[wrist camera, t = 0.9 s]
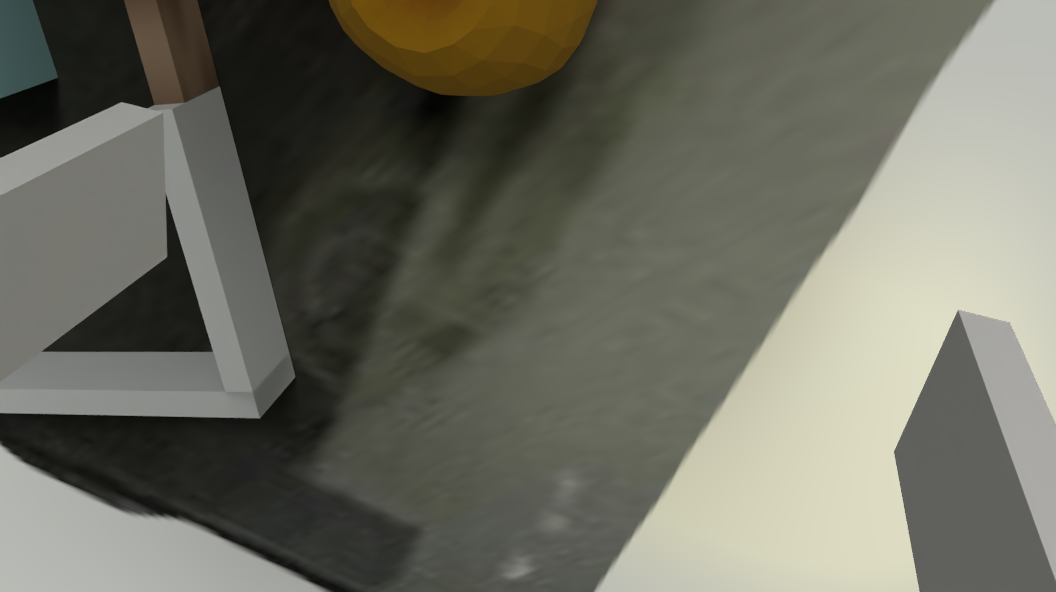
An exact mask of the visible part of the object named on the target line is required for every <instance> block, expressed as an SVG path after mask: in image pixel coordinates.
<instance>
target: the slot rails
mask: <svg viewBox="0 0 1056 592" xmlns="http://www.w3.org/2000/svg"><path fill="white" fill-rule="evenodd" d="M124 2H125V5H126V9H127V12H128V15H129V19H130V22H131V26H132V29H133V33H134V36H135V39H136V43H137V46H138V50H139V53H140V57H141V60H142V63H143V67H144V70H145V74H146V77H147V81H148V84H149V87H150V91H151V94H152V98H153V101H154V105H163V104H177V103H186V102H188V101H190V100H192V99H194V98H196V97H198V96H200V95H202V94H204V93H206V92H208V91H211V90H213V89H215V88H217V87H219V86H220V85H219V81H218V78H217V74H216V70H215V66H214V62H213V58H212V55H211V51H210V47H209V43H208V39H207V35H206V32H205V28H204V24H203V20H202V16H201V12H200V8H199V5H198V1H197V0H124Z"/></svg>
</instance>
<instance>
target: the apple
mask: <svg viewBox="0 0 1056 592" xmlns="http://www.w3.org/2000/svg"><path fill="white" fill-rule="evenodd" d="M329 3H330V6H331V8H332V10H333V12H334V14H335V16H336V17H337V19H338V21H339V23H340V25H341V27H342V28H343V30H344V31H345V33H346V34H347V35H348V36H349V37H350V38H351V39H352V40H353V41H354V43H355V44H356V45H357V46H358V47H359V48H360V49H361V50H363V51H364V52H365V53H366V54H367V55H368V56H370V57H371V58H372V59H373V60H374V61H376V62H377V63H378V64H379V65H380V66H381V67H383V68H385V69H386V70H388V71H390V72H392V73H394V74H395V75H397V76H399V77H401V78H403V79H404V80H406V81H408V82H410V83H412V84H413V85H415V86H418V87H420V88H423V89H426V90H429V91H432V92H435V93H438V94H441V95H456V96H493V95H500V94H503V93H506V92H510V91H513V90H516V89H520V88H523V87H526V86H530V85H533V84H536V83H539V82H540V81H542V80H544V79H545V78H547V77H548V76H550V75H552V74H553V73H555V72H556V71H558V70H560V69H561V68H562V67H563V66H564V64H565V63H566V62H567V60H568V59H569V58H570V56H571V55H572V54H573V52H574V51H575V50H576V48H577V47H578V46H579V44H580V42H581V40H582V39H583V37H584V34H585V32H586V29H587V27H588V24H589V22H590V19H591V17H592V14H593V12H594V9H595V7H596V4H597V0H329Z"/></svg>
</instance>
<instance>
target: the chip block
mask: <svg viewBox="0 0 1056 592" xmlns="http://www.w3.org/2000/svg"><path fill="white" fill-rule="evenodd" d="M56 78H58V76H57V73H56V70H55V67H54V64H53V61H52V58H51V55H50V52H49V49H48V45H47V42H46V39H45V36H44V33H43V30H42V27H41V24H40V21H39V18H38V15H37V12H36V9H35V6H34V3H33V0H0V98H3V97H6V96H8V95H11V94H14V93H17V92H20V91H22V90H25V89H28V88H31V87H34V86H36V85H39V84H42V83H45V82H47V81H50V80H53V79H56Z"/></svg>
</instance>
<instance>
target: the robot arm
mask: <svg viewBox="0 0 1056 592" xmlns="http://www.w3.org/2000/svg"><path fill="white" fill-rule="evenodd" d="M166 257H167V233H166V195H165V157H164V119H163V112H159V111H155V110H151V109H147V108H143V107H139V106H135V105H131V104H127V103H123V102H121V103H119V104H117V105H115V106H113V107H110V108H108V109H106V110H104V111H102V112H100V113H97V114H95V115H93V116H91V117H89V118H87V119H84V120H82V121H80V122H78V123H76V124H74V125H71V126H69V127H67V128H65V129H63V130H61V131H58V132H56V133H54V134H52V135H50V136H48V137H45V138H43V139H41V140H39V141H37V142H35V143H32V144H30V145H28V146H26V147H24V148H21V149H19V150H17V151H15V152H13V153H11V154H8V155H6V156H4V157H2V158H0V382H1V381H2V380H4V379H5V378H6V377H8V376H9V375H10V374H12V373H13V372H14V371H16V370H17V369H18V368H20V367H21V366H22V365H24V364H25V363H26V362H28V361H29V360H30V359H32V358H33V357H34V356H36V355H37V354H38V353H40V352H41V351H42V350H44V349H45V348H46V347H48V346H49V345H50V344H52V343H53V342H54V341H56V340H57V339H58V338H60V337H61V336H62V335H64V334H65V333H66V332H68V331H69V330H70V329H72V328H73V327H74V326H76V325H77V324H78V323H80V322H81V321H82V320H84V319H85V318H86V317H88V316H89V315H90V314H92V313H93V312H94V311H96V310H97V309H98V308H100V307H101V306H102V305H104V304H105V303H106V302H108V301H109V300H110V299H112V298H113V297H114V296H116V295H117V294H118V293H120V292H121V291H122V290H124V289H125V288H126V287H128V286H129V285H130V284H132V283H133V282H134V281H136V280H137V279H138V278H140V277H141V276H142V275H144V274H145V273H146V272H148V271H149V270H150V269H152V268H153V267H154V266H156V265H157V264H158V263H160V262H161V261H162V260H164V259H165V258H166ZM894 454H895V459H896V465H897V470H898V475H899V481H900V486H901V492H902V497H903V502H904V508H905V513H906V519H907V524H908V530H909V535H910V541H911V547H912V552H913V557H914V563H915V568H916V574H917V579H918V584H919V590H920V592H1056V424H1055V422H1054V419H1053V417H1052V415H1051V413H1050V411H1049V408H1048V406H1047V404H1046V402H1045V400H1044V397H1043V395H1042V393H1041V391H1040V388H1039V386H1038V384H1037V382H1036V380H1035V378H1034V375H1033V373H1032V371H1031V369H1030V366H1029V364H1028V362H1027V360H1026V358H1025V355H1024V353H1023V351H1022V348H1021V346H1020V344H1019V342H1018V340H1017V338H1016V335H1015V333H1014V331H1013V329H1012V326H1011V324H1010V323H1009V322H1005V321H1001V320H997V319H993V318H988V317H985V316H981V315H976V314H973V313H969V312H965V311H961V310H958V312H957V314H956V316H955V318H954V320H953V322H952V325H951V327H950V329H949V331H948V334H947V336H946V338H945V340H944V342H943V345H942V347H941V349H940V351H939V354H938V356H937V358H936V360H935V362H934V365H933V367H932V369H931V371H930V373H929V376H928V378H927V380H926V382H925V384H924V387H923V389H922V391H921V393H920V395H919V398H918V400H917V402H916V404H915V407H914V409H913V411H912V414H911V416H910V418H909V420H908V422H907V425H906V427H905V429H904V431H903V433H902V435H901V438H900V440H899V442H898V444H897V446H896V449H895V451H894Z"/></svg>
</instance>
